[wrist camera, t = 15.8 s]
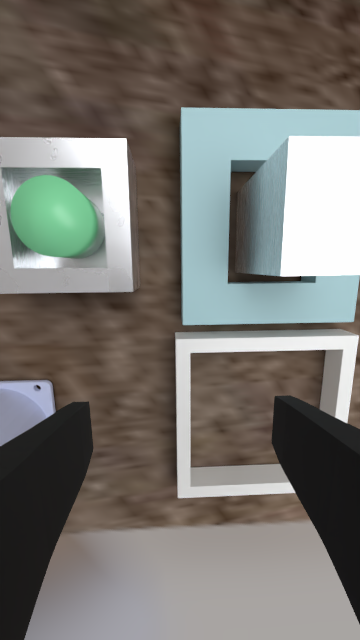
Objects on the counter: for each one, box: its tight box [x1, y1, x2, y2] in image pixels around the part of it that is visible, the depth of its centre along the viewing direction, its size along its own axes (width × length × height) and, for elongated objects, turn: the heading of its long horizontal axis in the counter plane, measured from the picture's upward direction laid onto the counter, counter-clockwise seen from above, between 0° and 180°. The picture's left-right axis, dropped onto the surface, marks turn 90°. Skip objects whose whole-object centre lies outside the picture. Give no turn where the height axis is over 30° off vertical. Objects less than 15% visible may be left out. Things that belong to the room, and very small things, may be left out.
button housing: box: [0, 137, 140, 294], centre depth 16 cm, size 8×8×4 cm
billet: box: [235, 136, 360, 276], centre depth 15 cm, size 4×6×8 cm
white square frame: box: [175, 329, 359, 498], centre depth 21 cm, size 13×13×2 cm
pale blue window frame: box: [180, 108, 360, 325], centre depth 18 cm, size 12×13×2 cm
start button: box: [10, 175, 105, 259], centre depth 15 cm, size 4×4×4 cm
